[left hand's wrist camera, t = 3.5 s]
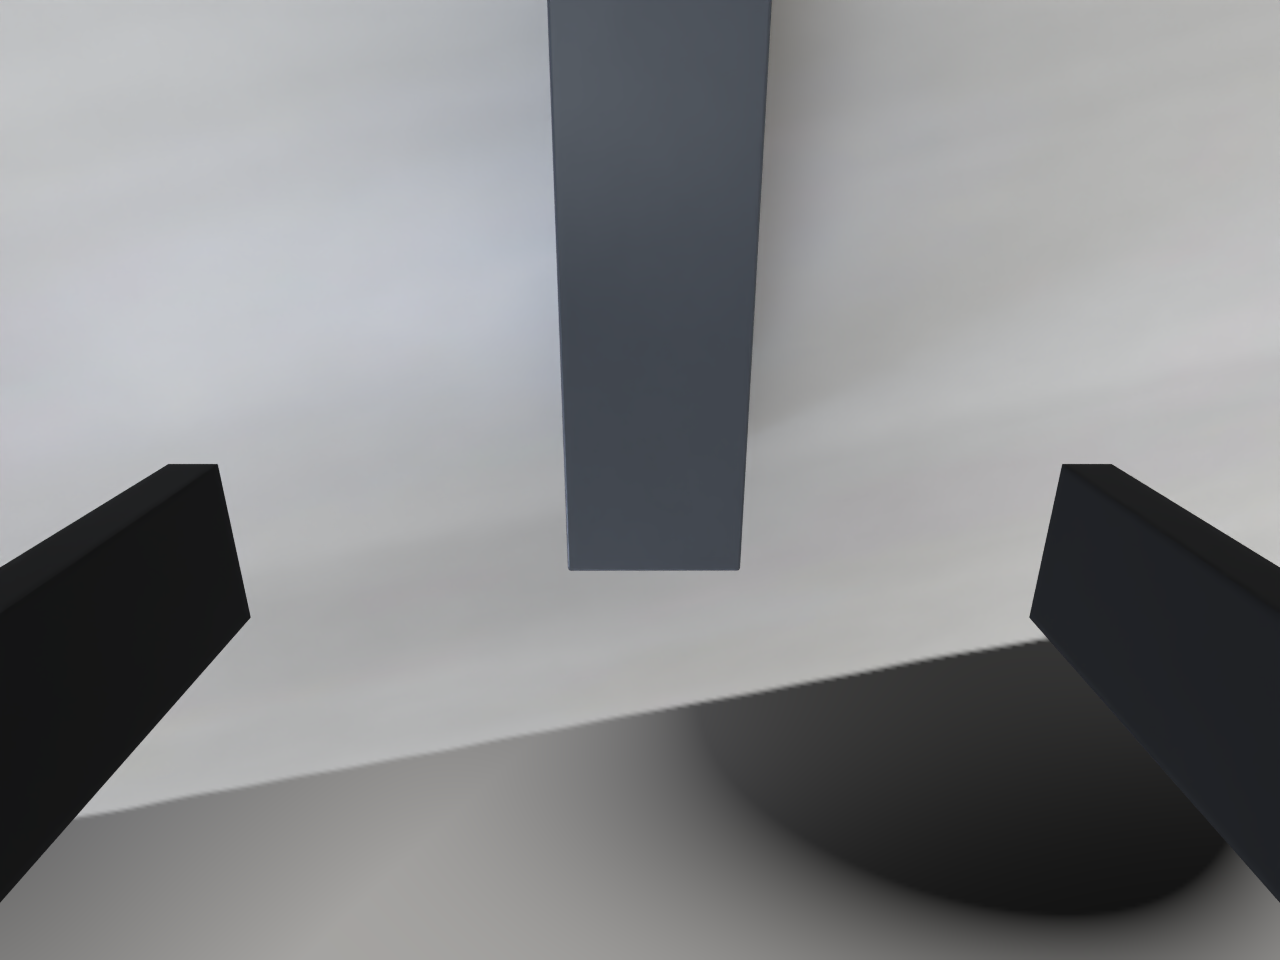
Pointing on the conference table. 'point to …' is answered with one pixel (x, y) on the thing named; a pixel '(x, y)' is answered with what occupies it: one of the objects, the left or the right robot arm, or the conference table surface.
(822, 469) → the conference table surface
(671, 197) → the bar
